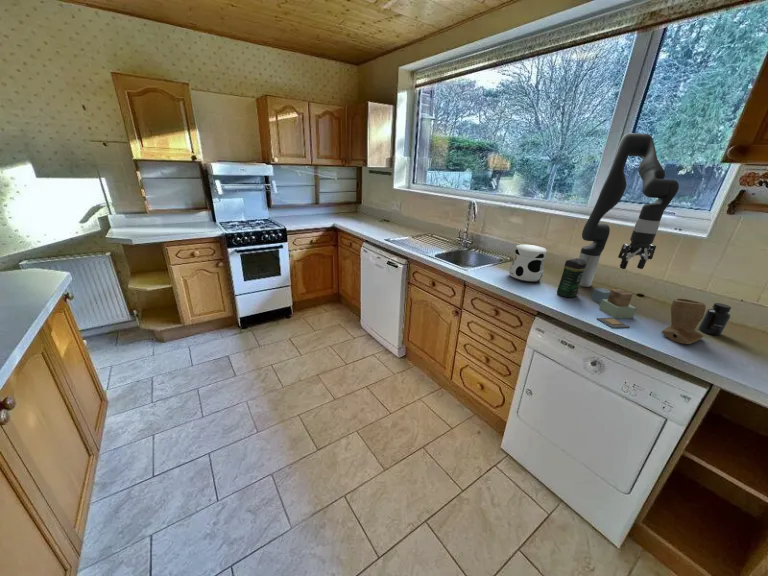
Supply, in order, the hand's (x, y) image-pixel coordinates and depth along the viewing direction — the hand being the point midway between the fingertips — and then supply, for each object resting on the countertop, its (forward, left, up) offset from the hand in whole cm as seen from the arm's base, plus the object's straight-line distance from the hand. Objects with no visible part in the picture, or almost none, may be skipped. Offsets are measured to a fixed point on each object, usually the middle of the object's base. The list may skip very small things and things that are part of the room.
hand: (631, 268), depth 135 cm
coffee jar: (-20, -10, -21) cm, 30 cm away
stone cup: (+22, +6, -21) cm, 31 cm away
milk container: (-43, -19, -21) cm, 51 cm away
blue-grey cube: (-12, +2, -21) cm, 24 cm away
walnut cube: (+1, -2, -16) cm, 16 cm away
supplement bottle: (+20, +24, -21) cm, 38 cm away
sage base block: (+1, -1, -21) cm, 21 cm away
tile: (+10, -12, -20) cm, 26 cm away
